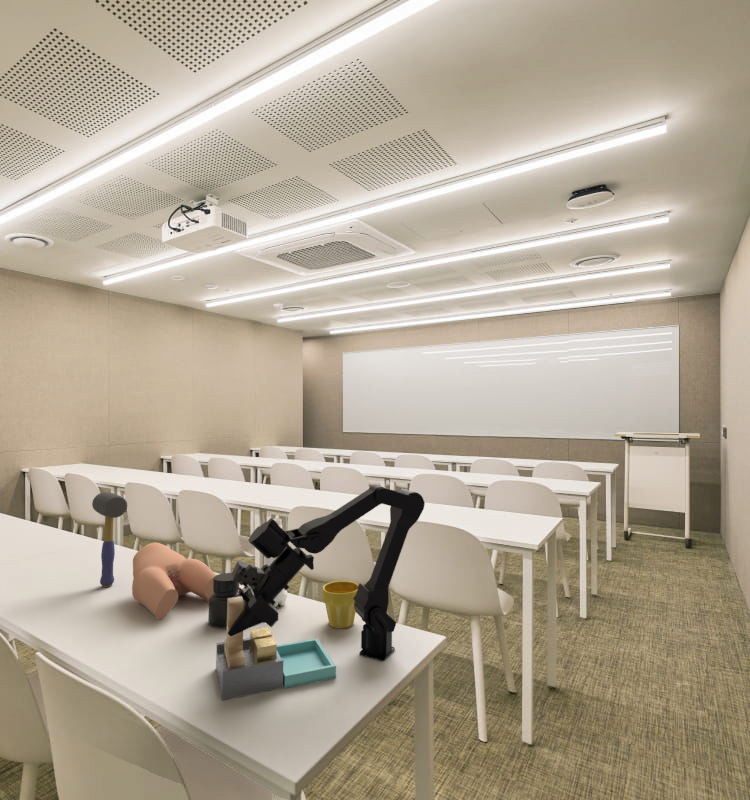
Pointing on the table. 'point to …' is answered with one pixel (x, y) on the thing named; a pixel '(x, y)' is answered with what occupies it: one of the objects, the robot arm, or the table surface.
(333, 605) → the plant pot
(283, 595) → the water bottle
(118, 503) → the rubber mallet
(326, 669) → the teal tray
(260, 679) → the grey tray
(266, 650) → the brass block
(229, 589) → the ink bottle
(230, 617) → the light brown t-shaped block
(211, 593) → the medical training model
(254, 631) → the brass block
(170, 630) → the table surface
